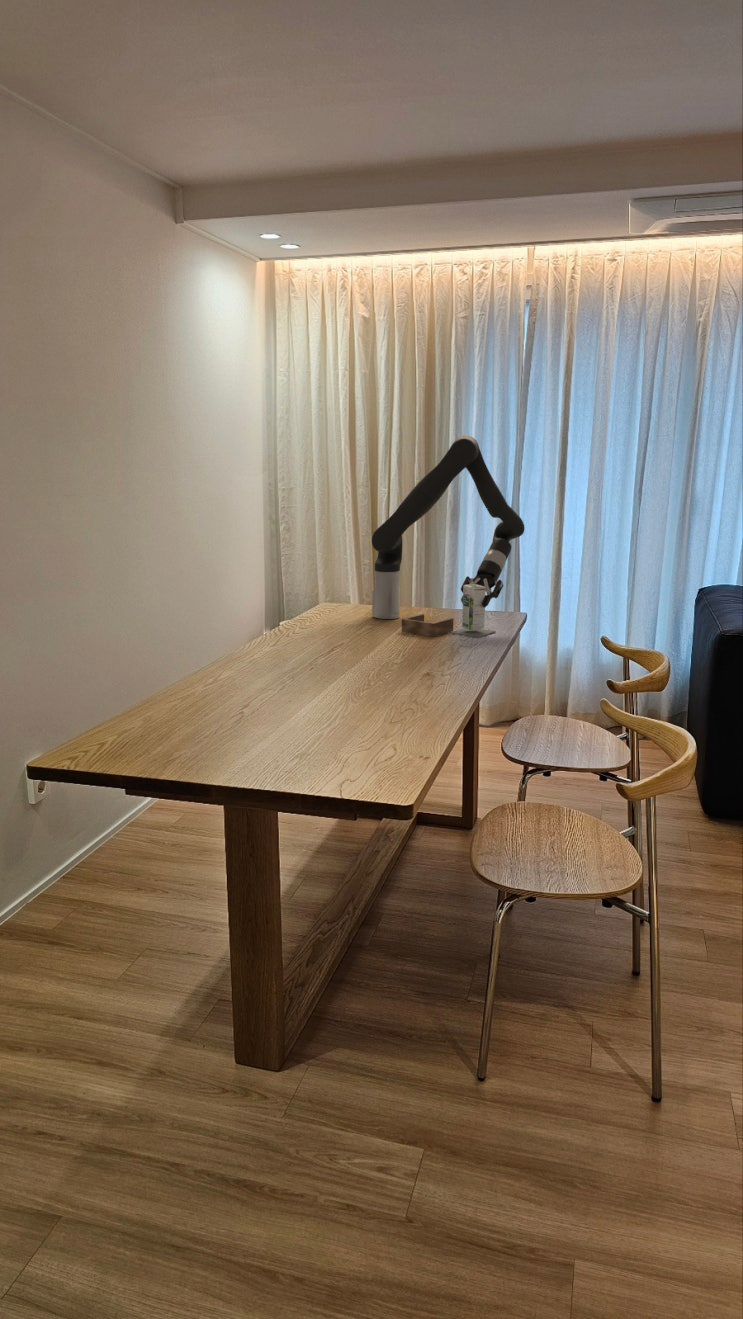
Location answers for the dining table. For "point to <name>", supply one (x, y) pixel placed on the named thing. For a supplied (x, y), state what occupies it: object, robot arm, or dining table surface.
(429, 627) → the walnut cubby
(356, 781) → the dining table surface
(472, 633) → the grey mat
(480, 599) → the syrup box
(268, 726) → the dining table surface
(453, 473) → the robot arm
